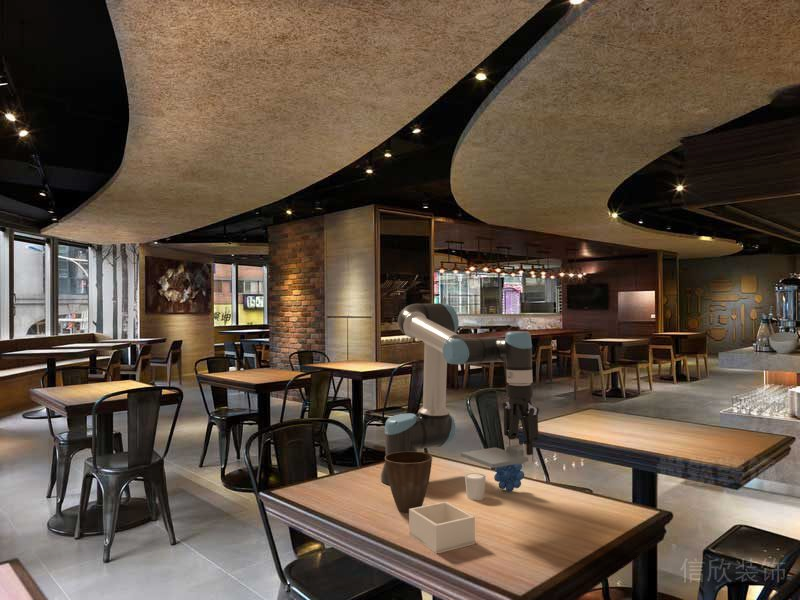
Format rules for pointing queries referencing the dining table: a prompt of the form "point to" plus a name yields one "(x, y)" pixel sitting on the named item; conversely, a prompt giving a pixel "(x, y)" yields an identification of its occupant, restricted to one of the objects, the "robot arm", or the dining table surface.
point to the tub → (442, 527)
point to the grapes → (509, 476)
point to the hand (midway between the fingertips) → (521, 463)
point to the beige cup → (475, 486)
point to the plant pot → (408, 478)
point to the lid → (497, 456)
